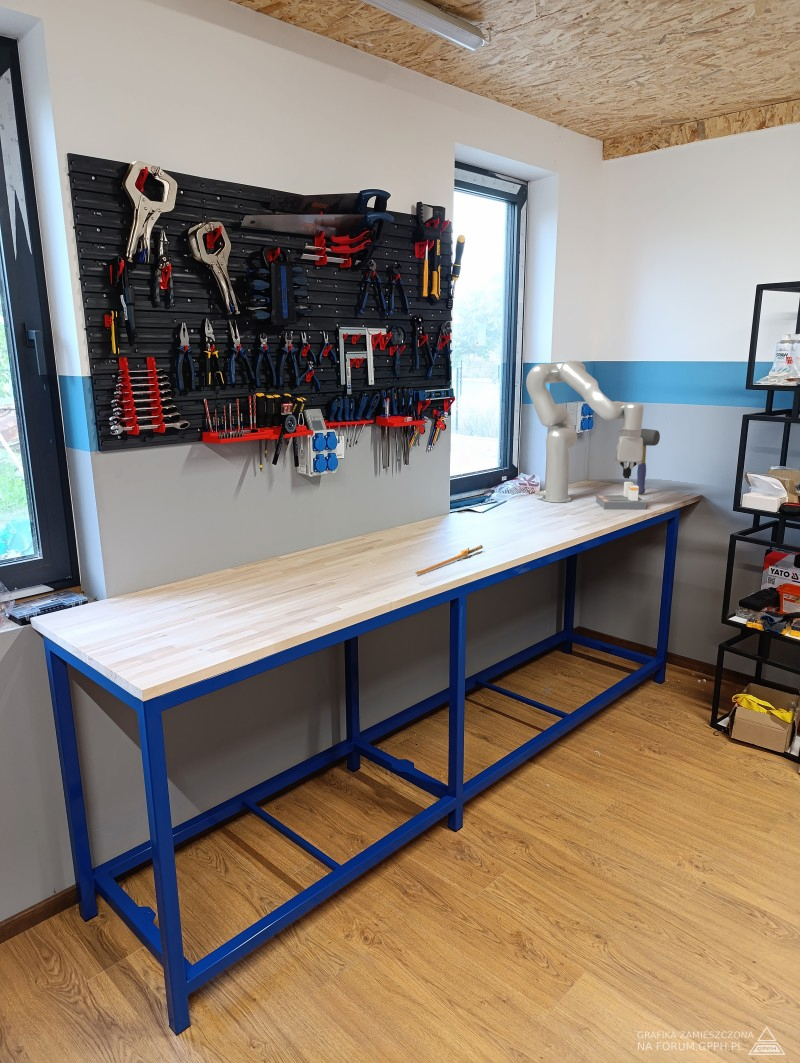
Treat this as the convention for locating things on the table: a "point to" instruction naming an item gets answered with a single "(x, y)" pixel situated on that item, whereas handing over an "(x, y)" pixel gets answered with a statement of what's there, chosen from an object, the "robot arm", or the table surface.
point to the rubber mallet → (649, 439)
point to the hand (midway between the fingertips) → (626, 477)
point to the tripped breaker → (633, 492)
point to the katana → (450, 560)
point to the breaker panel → (620, 500)
